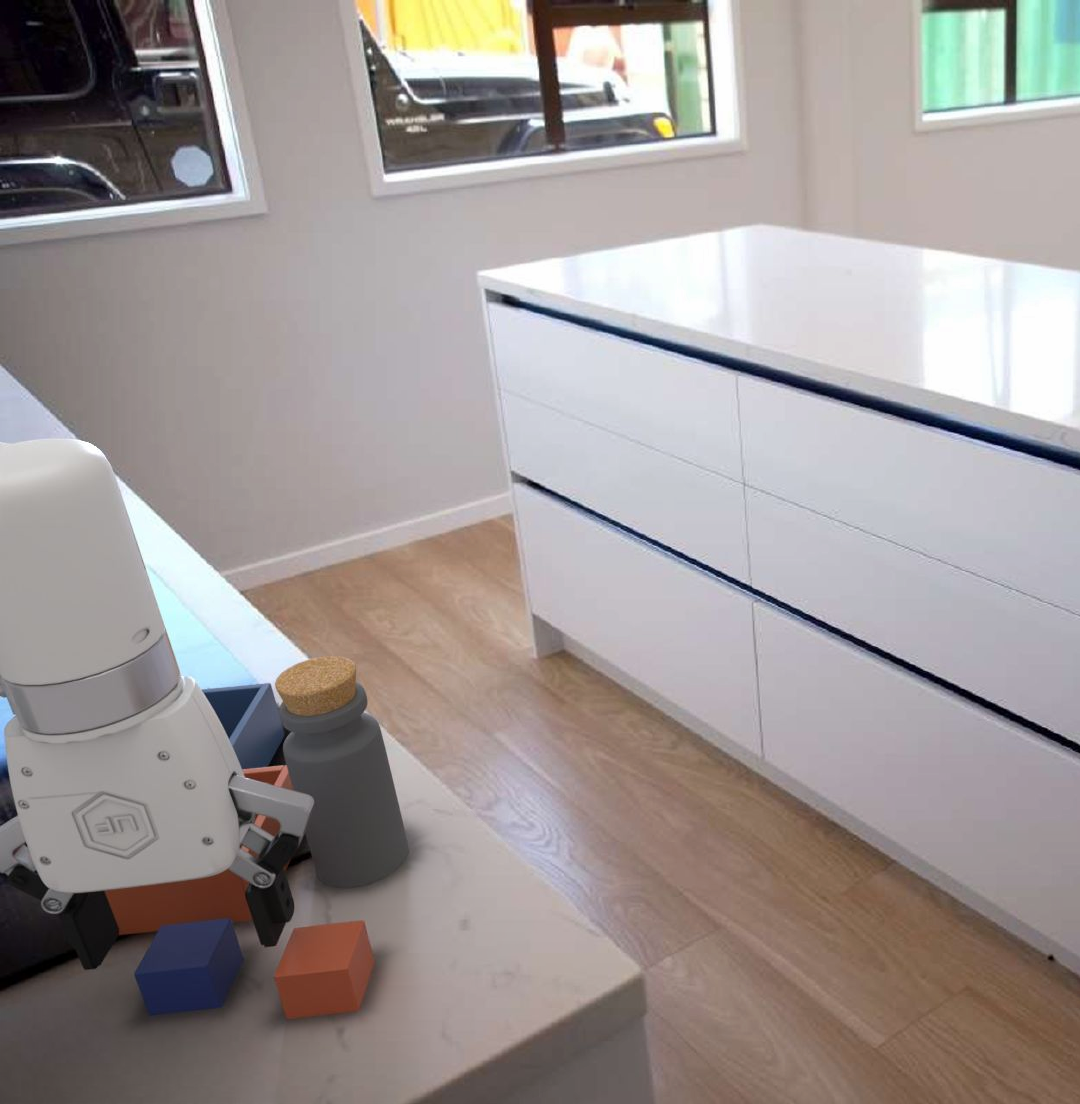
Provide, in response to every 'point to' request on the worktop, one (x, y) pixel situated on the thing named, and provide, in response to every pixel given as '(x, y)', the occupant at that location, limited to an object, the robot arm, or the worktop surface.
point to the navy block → (189, 967)
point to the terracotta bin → (194, 885)
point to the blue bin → (249, 721)
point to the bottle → (341, 773)
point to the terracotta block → (325, 969)
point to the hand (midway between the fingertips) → (190, 941)
